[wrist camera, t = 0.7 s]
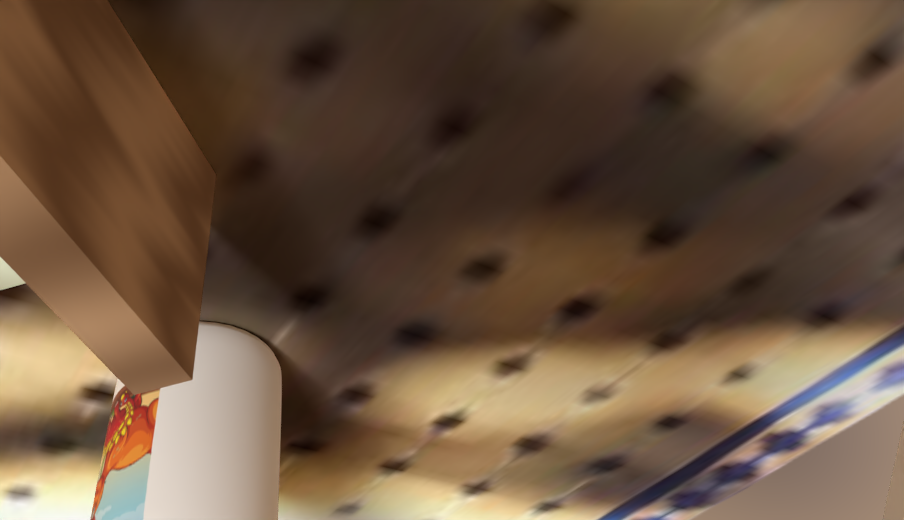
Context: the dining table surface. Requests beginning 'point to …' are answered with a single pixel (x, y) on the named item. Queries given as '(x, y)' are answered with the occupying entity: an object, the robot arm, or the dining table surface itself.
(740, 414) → the dining table surface
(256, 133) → the dining table surface
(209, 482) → the milk bottle
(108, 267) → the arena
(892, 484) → the robot arm
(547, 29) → the dining table surface
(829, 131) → the dining table surface
